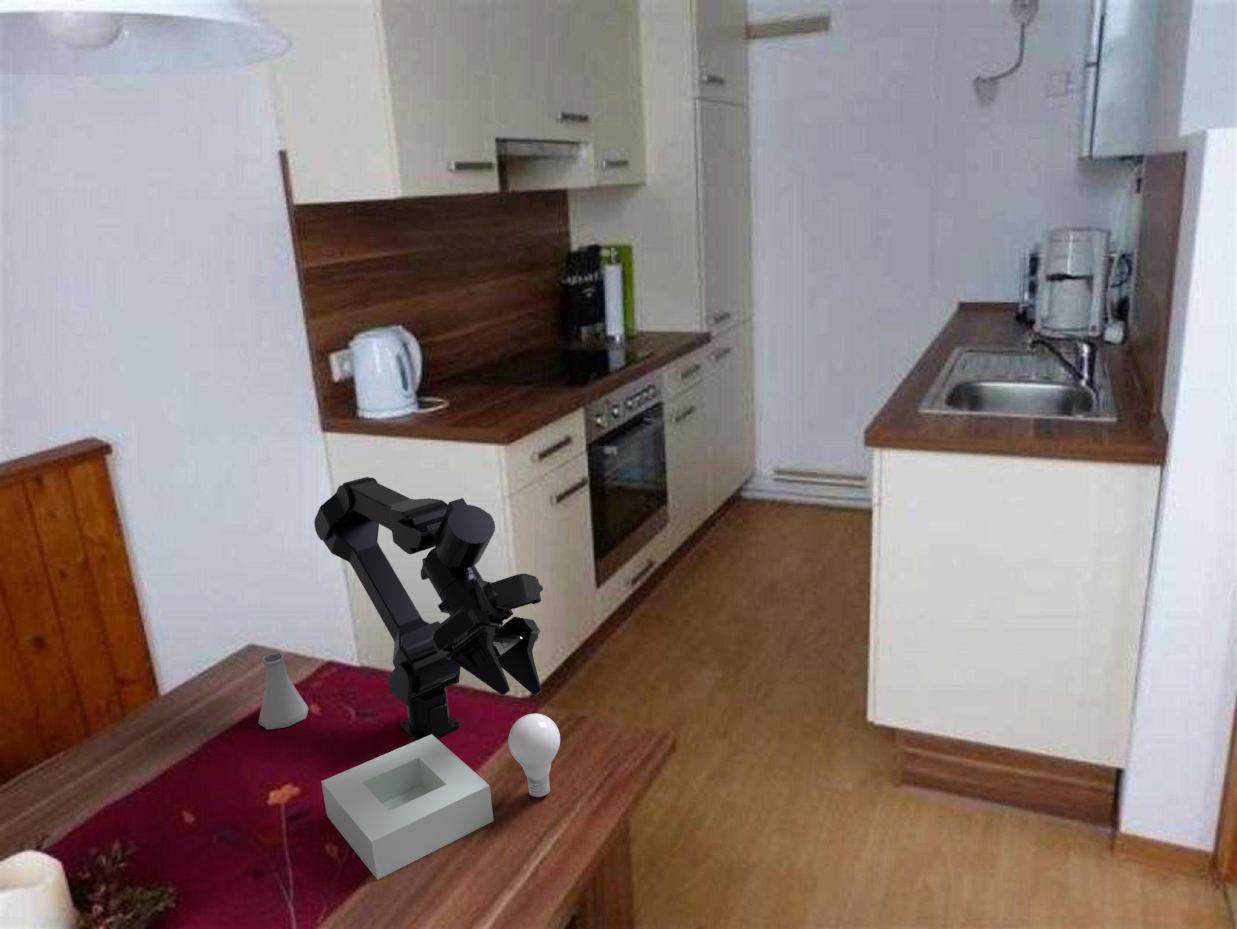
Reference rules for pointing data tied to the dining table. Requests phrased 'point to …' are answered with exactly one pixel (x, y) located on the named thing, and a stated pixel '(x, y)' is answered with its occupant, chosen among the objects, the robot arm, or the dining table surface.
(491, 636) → the robot arm
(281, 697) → the flask
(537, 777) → the lightbulb
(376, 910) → the dining table surface
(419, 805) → the socket block
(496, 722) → the dining table surface
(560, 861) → the dining table surface
